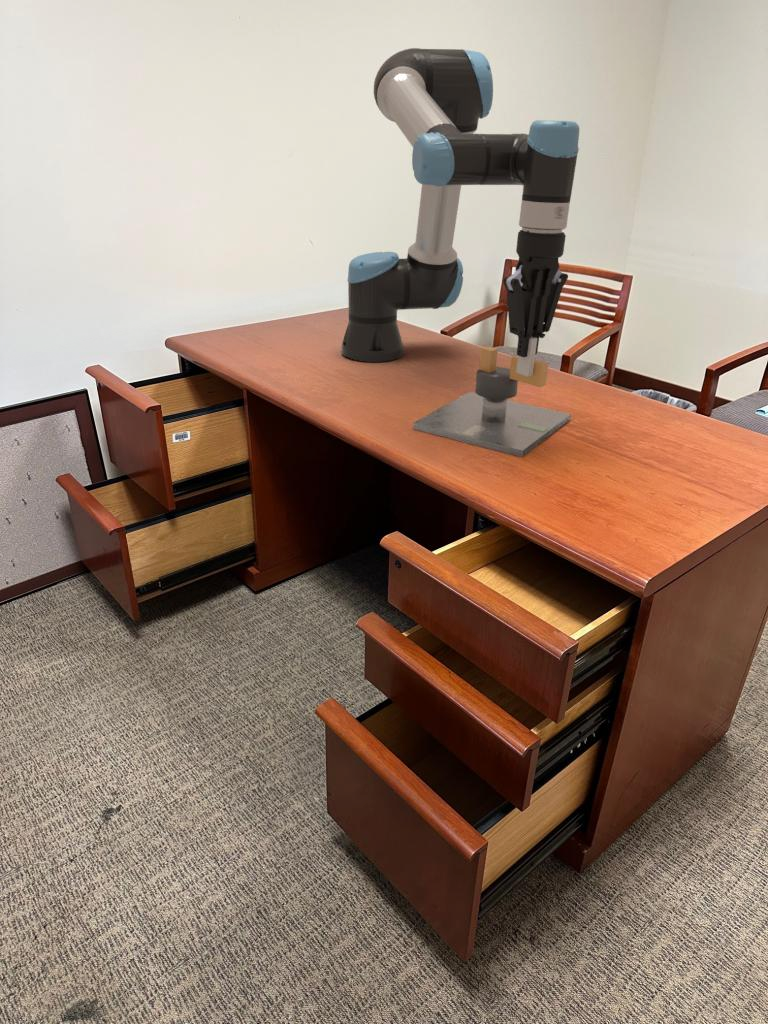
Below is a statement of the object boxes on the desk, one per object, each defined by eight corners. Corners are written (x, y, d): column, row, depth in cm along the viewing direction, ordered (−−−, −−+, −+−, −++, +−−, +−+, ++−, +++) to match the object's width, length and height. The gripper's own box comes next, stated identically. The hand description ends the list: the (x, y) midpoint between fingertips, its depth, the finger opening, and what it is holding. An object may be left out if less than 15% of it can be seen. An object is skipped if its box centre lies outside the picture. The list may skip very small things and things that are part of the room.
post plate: (469, 397, 152) (471, 369, 150) (570, 419, 142) (574, 390, 139) (413, 428, 136) (414, 398, 133) (521, 457, 126) (525, 424, 123)
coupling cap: (466, 391, 136) (469, 350, 133) (493, 383, 141) (496, 343, 137) (527, 411, 127) (531, 368, 124) (552, 401, 132) (558, 359, 128)
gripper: (530, 234, 111) (512, 385, 122) (587, 231, 118) (565, 374, 128) (496, 228, 116) (482, 373, 127) (553, 225, 123) (535, 363, 134)
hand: (524, 373), depth 128 cm, fingers closed
